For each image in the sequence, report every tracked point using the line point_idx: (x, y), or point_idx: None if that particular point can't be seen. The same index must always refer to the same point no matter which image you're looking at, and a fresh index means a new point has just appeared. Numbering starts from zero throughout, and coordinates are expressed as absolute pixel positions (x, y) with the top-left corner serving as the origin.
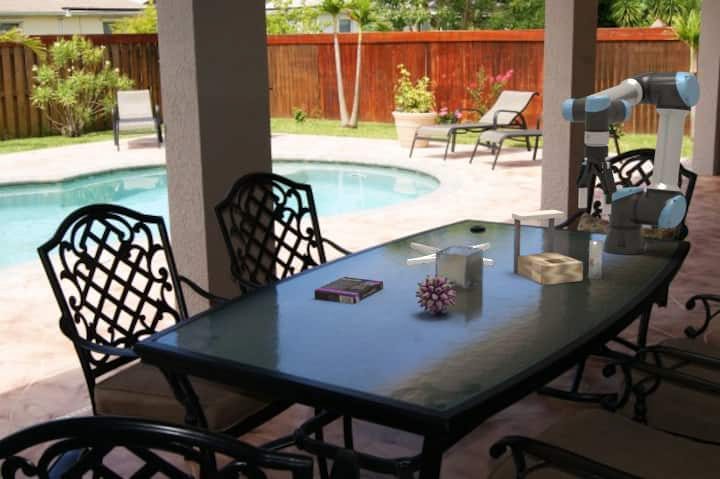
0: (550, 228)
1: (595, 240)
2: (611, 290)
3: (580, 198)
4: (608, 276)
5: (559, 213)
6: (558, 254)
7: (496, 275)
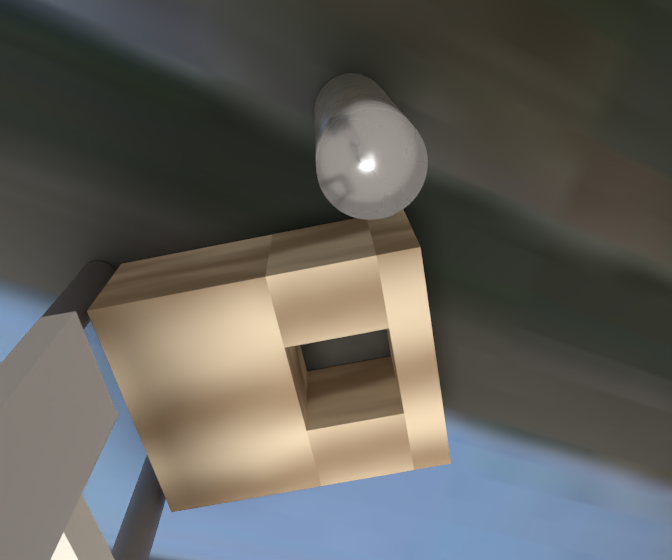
0: None
1: (341, 158)
2: (646, 141)
3: (61, 521)
4: (348, 15)
5: (68, 533)
6: (167, 311)
7: (213, 523)
